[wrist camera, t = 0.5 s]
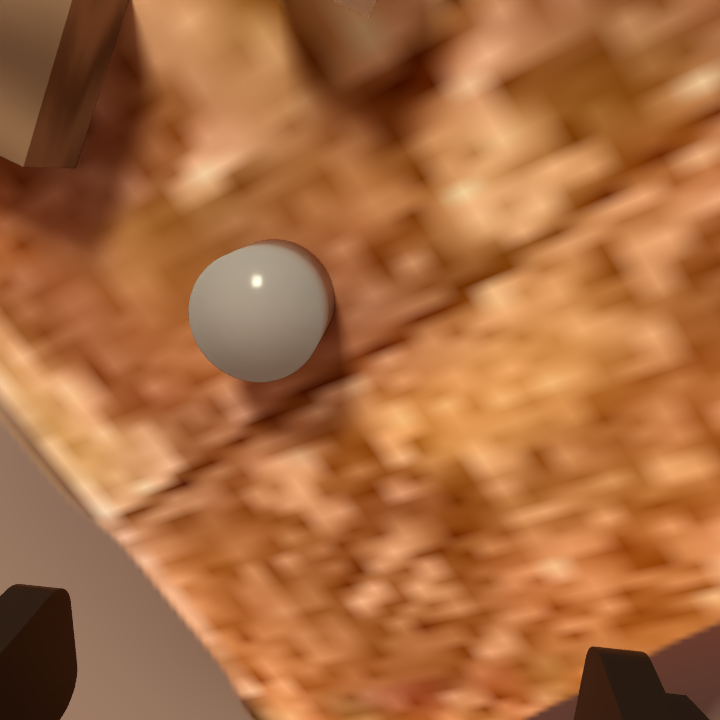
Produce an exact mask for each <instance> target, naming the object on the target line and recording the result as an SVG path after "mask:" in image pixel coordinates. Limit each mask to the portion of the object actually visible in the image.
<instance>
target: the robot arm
mask: <svg viewBox="0 0 720 720" xmlns="http://www.w3.org/2000/svg"><path fill="white" fill-rule="evenodd" d="M76 678H77V660H76V649H75V639H74V630H73V620H72V610H71V601H70V596H69V594H68V592H67V591H66V590H65V589H61V588H51V587H42V586H32V585H23V584H16V585H13V586H11V587H10V588H8V589H7V590H6V591H5V592H4V593H3V594H2V595H1V596H0V720H60V719H61V717H62V716H63V714H64V712H65V710H66V709H67V707H68V705H69V702H70V700H71V697H72V694H73V691H74V688H75V683H76ZM574 720H709V719H708V718H707V717H706V715H705V714H704V713H703V712H702V711H701V710H700V709H699V708H698V707H697V706H696V705H695V704H694V703H693V702H692V701H691V700H690V699H689V698H688V697H687V696H686V695H678V694H668V693H665V691H664V688H663V686H662V684H661V682H660V679H659V678H658V675H657V673H656V671H655V669H654V666H653V664H652V662H651V660H650V658H649V657H648V656H647V654H646V653H644V652H640V651H630V650H621V649H611V648H602V647H590V648H589V650H588V652H587V655H586V659H585V665H584V670H583V675H582V680H581V685H580V690H579V695H578V701H577V706H576V712H575V716H574Z"/></svg>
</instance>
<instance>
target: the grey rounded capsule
mask: <svg viewBox="0 0 720 720" xmlns="http://www.w3.org/2000/svg"><path fill="white" fill-rule="evenodd" d="M333 311H334V290H333V285H332V282H331V279H330V277H329V274H328V272H327V271H326V269H325V267H324V266H323V264H322V263H321V262H320V260H319V259H318V258H317V257H316V256H315V255H314V254H312V253H311V252H310V251H308V250H307V249H305V248H304V247H302V246H300V245H298V244H295V243H293V242H289V241H286V240H279V239H269V240H262V241H258V242H255V243H252V244H250V245H248V246H245V247H243V248H241V249H238V250H236V251H234V252H231V253H229V254H227V255H224V256H222V257H220V258H219V259H217V260H215V261H214V262H213V263H211V264H210V265H209V266H208V267H207V268H206V269H205V270H204V271H203V272H202V274H201V275H200V276H199V278H198V279H197V281H196V283H195V285H194V287H193V290H192V293H191V297H190V302H189V322H190V327H191V331H192V334H193V337H194V339H195V341H196V343H197V345H198V347H199V348H200V350H201V351H202V353H203V354H204V355H205V357H206V358H207V359H208V360H209V361H210V362H211V363H212V364H213V365H214V366H216V367H217V368H218V369H220V370H221V371H223V372H224V373H226V374H228V375H230V376H232V377H235V378H237V379H241V380H244V381H250V382H269V381H274V380H278V379H281V378H284V377H286V376H288V375H290V374H292V373H294V372H295V371H297V370H298V369H299V368H301V367H302V366H303V365H304V364H305V363H306V362H307V361H308V359H309V358H310V357H311V355H312V354H313V352H314V350H315V349H316V347H317V345H318V343H319V341H320V340H321V338H322V336H323V334H324V332H325V331H326V329H327V327H328V325H329V323H330V321H331V318H332V315H333Z"/></svg>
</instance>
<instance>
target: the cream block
mask: <svg viewBox="0 0 720 720" xmlns="http://www.w3.org/2000/svg"><path fill="white" fill-rule="evenodd" d="M333 1H335V2H337V3H339V4H341V5H342V6H344V7H346V8H348V9H350V10H352V11H354V12H356V13H358V14H360V15H362V16H363V17H365V18H367V19H369V17H370V14H371V12H372V10H373V8H374V5H375V3H376V1H377V0H333Z"/></svg>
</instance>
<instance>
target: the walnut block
mask: <svg viewBox="0 0 720 720" xmlns="http://www.w3.org/2000/svg"><path fill="white" fill-rule="evenodd" d="M128 1H129V0H0V156H1V157H3V158H6V159H8V160H10V161H12V162H14V163H16V164H18V165H20V166H22V167H48V168H76V165H77V162H78V159H79V156H80V153H81V149H82V146H83V143H84V140H85V137H86V134H87V131H88V127H89V124H90V121H91V118H92V115H93V112H94V108H95V105H96V102H97V99H98V96H99V93H100V90H101V86H102V83H103V80H104V77H105V74H106V71H107V68H108V64H109V61H110V58H111V55H112V52H113V49H114V46H115V42H116V39H117V36H118V33H119V30H120V27H121V23H122V20H123V17H124V14H125V11H126V8H127V5H128Z"/></svg>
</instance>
